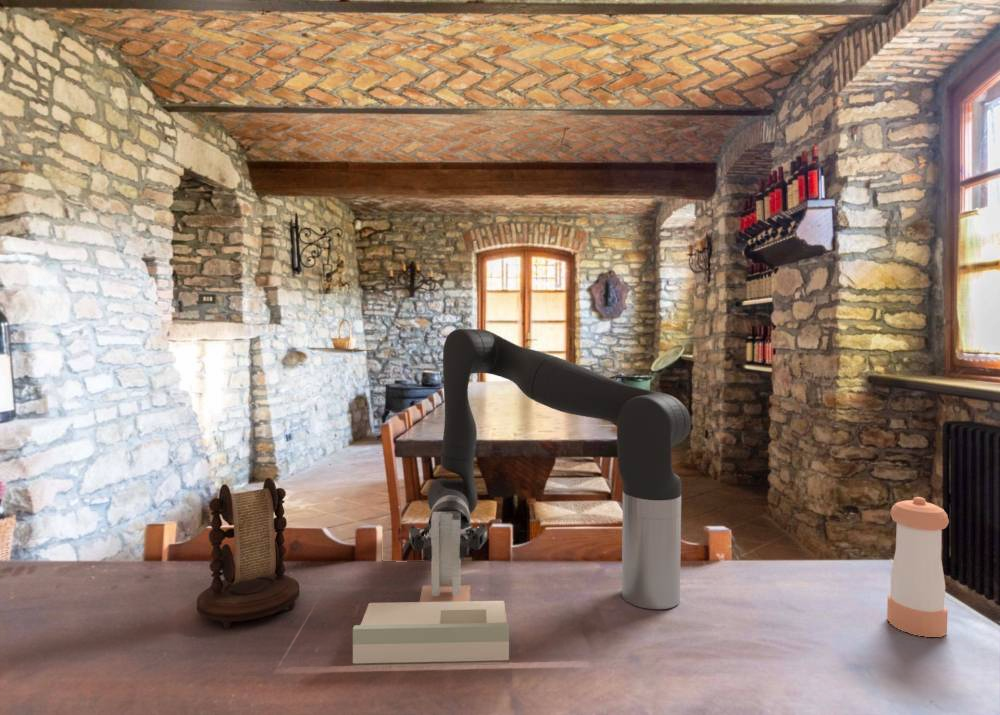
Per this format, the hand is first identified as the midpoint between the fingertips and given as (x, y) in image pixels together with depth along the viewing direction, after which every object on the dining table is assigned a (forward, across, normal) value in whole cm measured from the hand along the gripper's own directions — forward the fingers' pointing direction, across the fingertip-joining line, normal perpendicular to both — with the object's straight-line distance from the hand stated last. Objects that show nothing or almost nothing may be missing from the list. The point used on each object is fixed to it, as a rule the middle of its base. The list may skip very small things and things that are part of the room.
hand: (445, 552), depth 93 cm
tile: (-3, 0, +9) cm, 9 cm away
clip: (-3, 0, +7) cm, 7 cm away
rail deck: (+11, -1, +9) cm, 14 cm away
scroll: (-1, -31, +9) cm, 32 cm away
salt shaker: (+9, +70, +9) cm, 71 cm away
